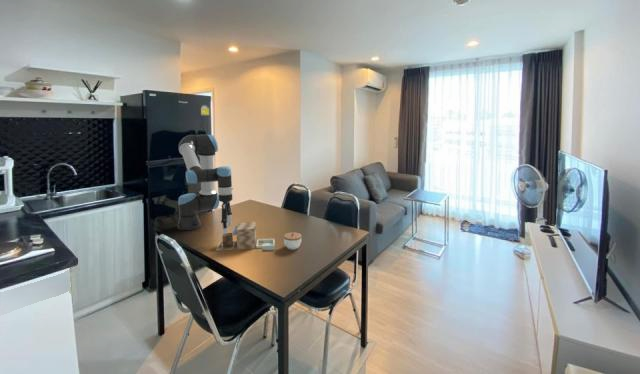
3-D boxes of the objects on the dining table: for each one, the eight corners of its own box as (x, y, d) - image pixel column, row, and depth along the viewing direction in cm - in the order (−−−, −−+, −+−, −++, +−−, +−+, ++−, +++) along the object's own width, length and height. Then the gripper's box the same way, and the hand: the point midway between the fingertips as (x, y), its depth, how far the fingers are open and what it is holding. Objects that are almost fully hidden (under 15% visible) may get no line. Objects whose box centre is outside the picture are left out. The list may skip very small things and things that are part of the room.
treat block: (222, 247, 175) (222, 236, 174) (224, 244, 180) (223, 233, 179) (231, 247, 176) (231, 235, 175) (232, 243, 181) (232, 232, 180)
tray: (256, 250, 175) (256, 246, 175) (257, 243, 186) (257, 239, 185) (274, 249, 177) (274, 245, 177) (274, 242, 187) (274, 238, 187)
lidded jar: (291, 242, 188) (291, 228, 186) (305, 246, 182) (305, 232, 180) (279, 248, 179) (279, 233, 177) (293, 252, 173) (293, 237, 171)
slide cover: (232, 235, 172) (232, 231, 172) (234, 229, 182) (234, 226, 181) (250, 234, 174) (250, 231, 173) (251, 228, 183) (251, 225, 183)
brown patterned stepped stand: (215, 252, 172) (214, 230, 169) (219, 244, 183) (218, 223, 181) (255, 250, 175) (254, 228, 172) (256, 242, 187) (255, 222, 184)
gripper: (229, 198, 160) (231, 236, 164) (234, 189, 184) (236, 222, 188) (214, 199, 159) (216, 237, 163) (222, 189, 183) (223, 222, 187)
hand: (227, 229), depth 176 cm, fingers open, 13 cm apart
